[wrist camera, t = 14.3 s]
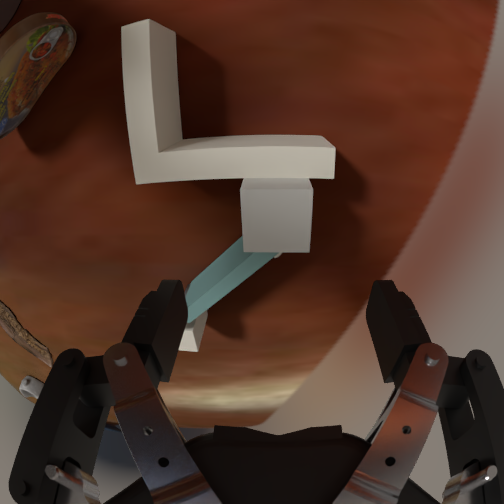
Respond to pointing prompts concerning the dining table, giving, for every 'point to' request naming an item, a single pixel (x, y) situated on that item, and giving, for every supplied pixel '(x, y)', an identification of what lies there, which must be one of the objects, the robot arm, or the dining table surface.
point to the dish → (31, 387)
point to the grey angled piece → (198, 149)
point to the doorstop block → (276, 214)
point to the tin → (30, 63)
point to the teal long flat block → (223, 277)
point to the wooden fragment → (23, 336)
